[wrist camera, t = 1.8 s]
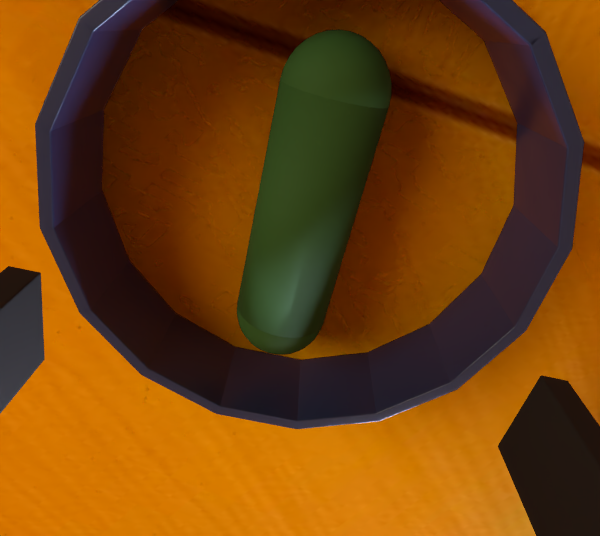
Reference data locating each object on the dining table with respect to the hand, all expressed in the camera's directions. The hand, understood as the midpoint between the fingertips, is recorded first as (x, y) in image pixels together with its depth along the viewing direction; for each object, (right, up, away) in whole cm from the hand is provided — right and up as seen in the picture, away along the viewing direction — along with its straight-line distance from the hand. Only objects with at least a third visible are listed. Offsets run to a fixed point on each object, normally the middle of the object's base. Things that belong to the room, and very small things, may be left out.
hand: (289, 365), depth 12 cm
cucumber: (+1, +6, +11) cm, 13 cm away
